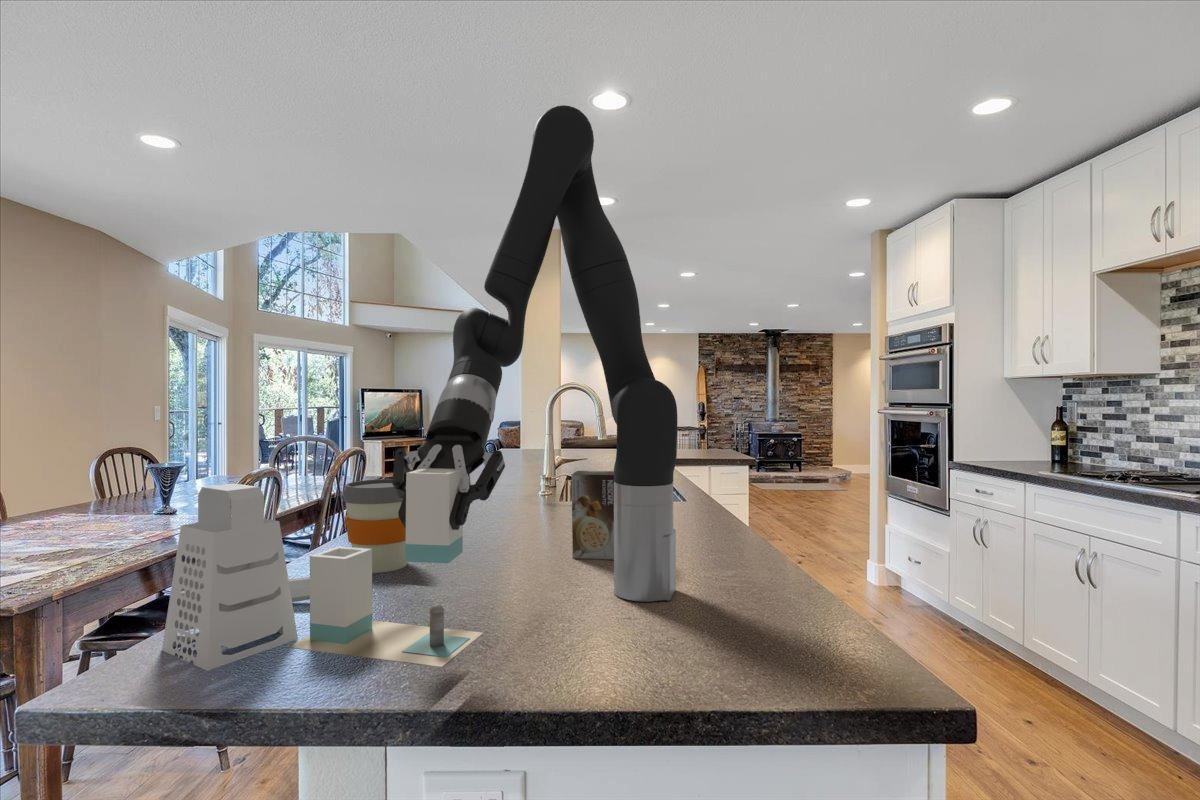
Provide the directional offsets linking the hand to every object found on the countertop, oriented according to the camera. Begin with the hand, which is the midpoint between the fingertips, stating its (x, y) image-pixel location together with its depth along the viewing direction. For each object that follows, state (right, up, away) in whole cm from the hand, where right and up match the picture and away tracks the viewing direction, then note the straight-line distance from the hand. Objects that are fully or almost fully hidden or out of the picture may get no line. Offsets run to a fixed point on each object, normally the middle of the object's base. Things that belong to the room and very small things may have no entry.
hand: (429, 524), depth 70 cm
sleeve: (0, -4, +2) cm, 5 cm away
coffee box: (+19, -16, +49) cm, 55 cm away
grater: (-24, -16, +2) cm, 29 cm away
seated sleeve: (-12, -14, +5) cm, 20 cm away
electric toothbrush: (-27, -16, +17) cm, 36 cm away
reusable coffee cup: (-20, -16, +42) cm, 49 cm away
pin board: (-6, -16, +4) cm, 17 cm away
